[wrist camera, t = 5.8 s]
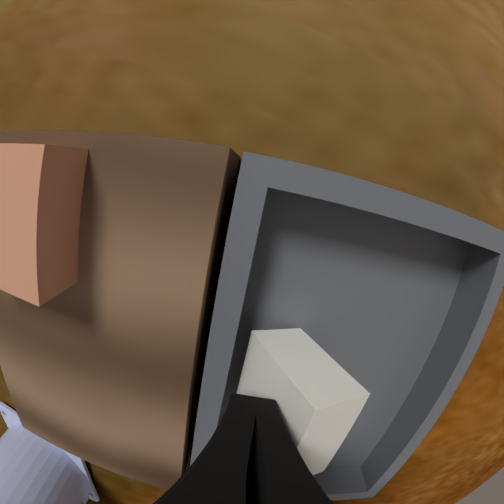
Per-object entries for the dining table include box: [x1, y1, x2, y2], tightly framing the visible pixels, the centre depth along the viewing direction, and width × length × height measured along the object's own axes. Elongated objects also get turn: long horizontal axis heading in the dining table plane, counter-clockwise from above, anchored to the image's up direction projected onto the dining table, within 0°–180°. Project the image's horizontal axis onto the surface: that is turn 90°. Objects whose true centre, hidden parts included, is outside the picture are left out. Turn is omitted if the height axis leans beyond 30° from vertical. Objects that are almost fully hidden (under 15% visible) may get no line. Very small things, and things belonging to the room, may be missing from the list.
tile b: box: [0, 143, 89, 307], centre depth 7 cm, size 4×4×2 cm
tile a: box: [237, 328, 370, 475], centre depth 9 cm, size 4×4×2 cm
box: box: [190, 152, 504, 501], centre depth 11 cm, size 15×10×2 cm
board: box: [0, 130, 240, 490], centre depth 10 cm, size 15×10×3 cm, turn 169°
